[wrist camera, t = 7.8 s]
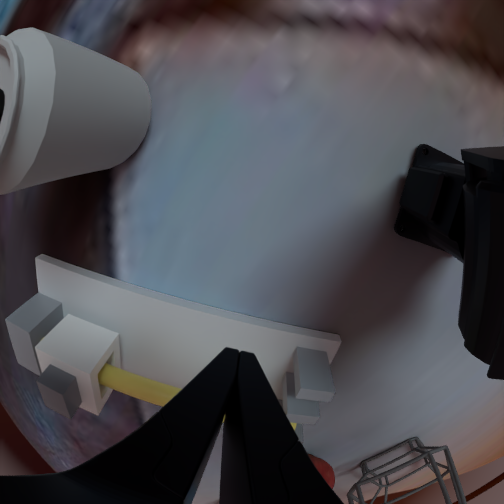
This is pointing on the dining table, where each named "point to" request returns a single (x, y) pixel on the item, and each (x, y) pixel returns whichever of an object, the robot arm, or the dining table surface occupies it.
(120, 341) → the linear slider
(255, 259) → the dining table surface
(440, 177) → the robot arm
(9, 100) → the can
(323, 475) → the onion
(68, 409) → the sleeve
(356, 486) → the geometric lantern
